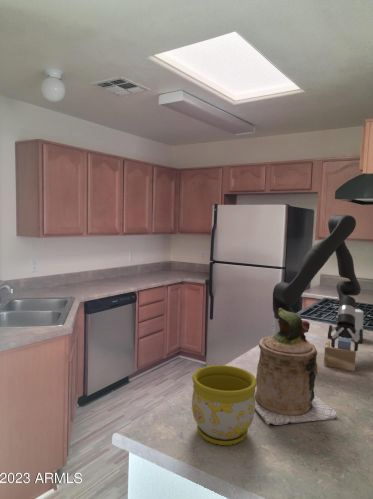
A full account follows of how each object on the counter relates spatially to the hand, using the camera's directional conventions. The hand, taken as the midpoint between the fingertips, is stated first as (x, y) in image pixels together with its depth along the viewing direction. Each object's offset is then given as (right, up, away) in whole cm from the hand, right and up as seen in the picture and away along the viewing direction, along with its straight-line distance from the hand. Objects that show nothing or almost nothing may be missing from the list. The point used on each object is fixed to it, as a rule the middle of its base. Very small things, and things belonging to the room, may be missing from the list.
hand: (344, 349), depth 158 cm
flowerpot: (-58, -9, -53) cm, 79 cm away
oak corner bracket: (-2, -7, +1) cm, 7 cm away
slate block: (0, -7, 0) cm, 7 cm away
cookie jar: (-35, -9, -35) cm, 51 cm away
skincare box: (+20, -5, +37) cm, 43 cm away
